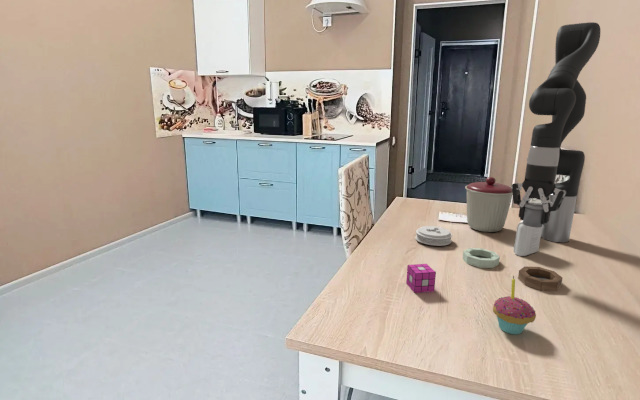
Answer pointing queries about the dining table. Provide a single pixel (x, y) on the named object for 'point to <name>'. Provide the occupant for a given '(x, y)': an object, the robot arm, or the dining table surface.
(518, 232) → the photo printer
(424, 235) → the lid
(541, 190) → the robot arm
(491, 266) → the sage ring
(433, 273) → the puzzle toy
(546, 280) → the walnut ring
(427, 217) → the dining table surface
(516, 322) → the cupcake
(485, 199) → the canister
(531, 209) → the cap
